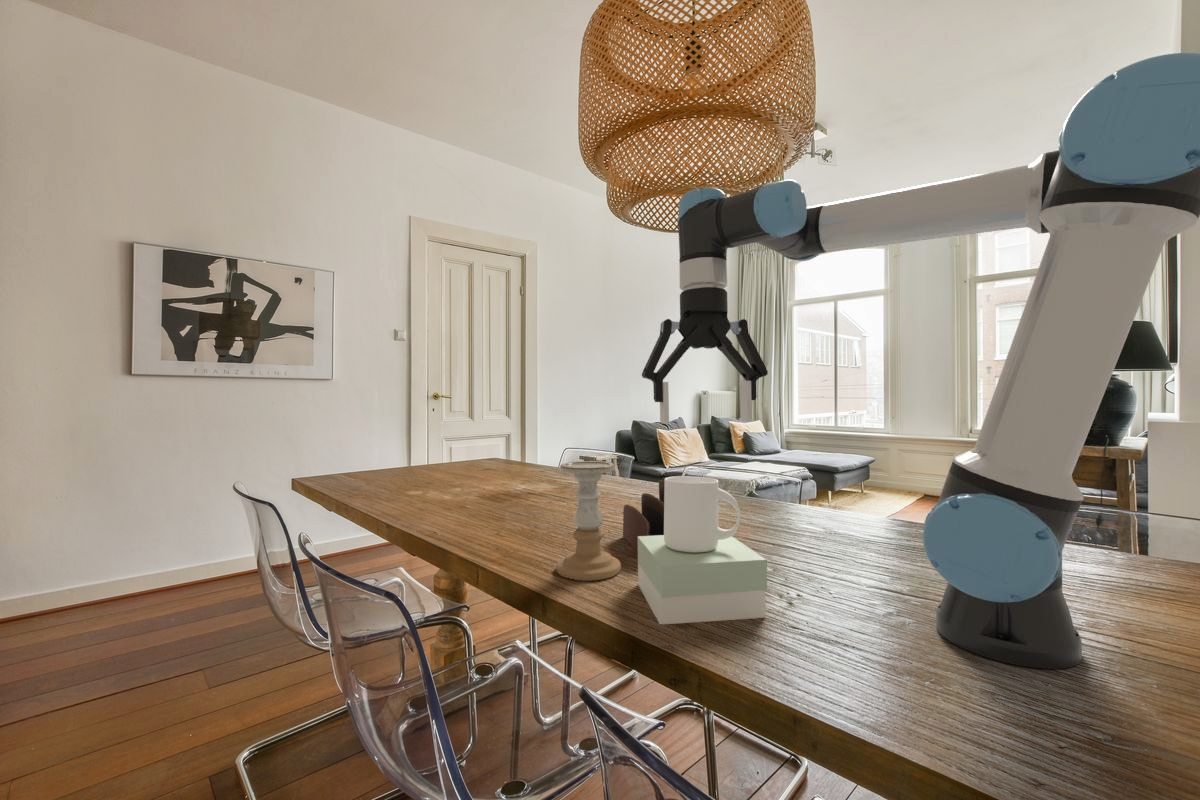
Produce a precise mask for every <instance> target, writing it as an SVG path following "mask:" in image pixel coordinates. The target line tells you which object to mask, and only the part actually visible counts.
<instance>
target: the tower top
mask: <svg viewBox="0 0 1200 800" xmlns="http://www.w3.org/2000/svg"><path fill="white" fill-rule="evenodd" d="M767 560H768V559H766V558H765V557H763V556H762V555H761V554H759V553H757V552H756V551H755V550H753V549H752V548H750V547H749V546H747V545H746V544H745V543H742V542H741V541H739V540H738V539H737V538H735V537H734V536H733V535H732V536H731V537H729V538H727V539H723V540H718V544H717V547H716V548H715V549H714V550H711V551H707V552H683V551H678V550H674V549H671V548H669V547H668V546H667V545H666V544H665V542H664V535H655V536H638V552H637V564H638V563H639V565H640V566H641V568H642V569H643V570H644V572H645V573H646V575H647V576H648V578H649V579H650V581H651V582H652V584H653V585H654V586H655V588H656V589H657V591H658V592H659V594H660V595H661V597H672V596H686V595H701V594H716V593H730V592H745V591H759V590H765V591H768V565H767V563H768V561H767Z"/></svg>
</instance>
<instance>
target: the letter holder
mask: <svg viewBox="0 0 1200 800" xmlns="http://www.w3.org/2000/svg"><path fill="white" fill-rule="evenodd" d="M640 500H641V503H640V505H641V512H640V511H639V510H638V509H637V508H635V507H634V506H632V505H631V504H624V506H623V512H622V513H623V514H622V515H623V518H622V521H623V522H622V523H623V524H622V529H623V530H622V537H623V538H624V540H626V541H627V543H628V544H629V543H630V544H629V545H630V546H631V547H632V548H633V549H634V550H635V551H636V552H637V553H638V536H655V535H664V479H660V480H659V481H658V497H656V496H655V495H653V494H650V493H647V492H646V493H645V492H644V493H642V494H641V499H640Z"/></svg>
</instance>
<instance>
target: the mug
mask: <svg viewBox="0 0 1200 800" xmlns="http://www.w3.org/2000/svg"><path fill="white" fill-rule="evenodd" d="M663 480H664V542H665V544H666V545H667V546H668V547H669V548H671V549H674V550H678V551H683V552H707V551H711V550H714V549H715V548H716V547H717V544H718V540H723V539H727V538H729V537H731V536H732V537H733V536H734V534H735V533H736V532H737V531H738V528H739V526H740V523H741V509H740V506H739V503H738V501H737V500H736V498H735V497H734V496H732V495H731V494H730V493H729V492H727V491H726V490H724V489H722V488H720V485H719V480H718V479H716V478H712V477H707V476H705V477H704V476H693V475H692V476H691V475H677V476H676V475H675V476H674V475H673V476H669V477H665V478H664V479H663ZM719 501H724V502H727V503H729V504H730V505H731V506H733V507H734V509H735V512H736V514H737V518H736V519H737V520H736V523H735V524H734V525H733V526H732V528H729V529H723V528H721V527H720V526H719Z"/></svg>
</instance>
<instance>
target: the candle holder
mask: <svg viewBox="0 0 1200 800" xmlns="http://www.w3.org/2000/svg"><path fill="white" fill-rule="evenodd" d="M559 468H560V471H562V472H563V473H566V474H573V475H572V476H573V477H574V479H575V480H576V481H577V483H578V490H577V491H576V492H575V493H574V497H575V498H576V499H577V505H576V506H577V507H576V510H575V514H574V517H573V524H574V525H575V526H576V528H575V531H574V532H573V533H572V536H573V538H574V539H575V541H576V548H575V551H572V552H570V553H568V554H567V555H566V556H564V557H562V558H561V559H559V560H558V561H557V563H556V567H555V568H556V572H557V574H558V575H559V576H561V577H563V578H566V579H568V578H569V579H568V580H572V579H574V580H573V581H580V580H581V581H582V582H583V581H585V582H588V581H589V582H590V581H591V582H593V580H594V581H601V580H607V579H609V578H613V577H614V576H617V575H618V574H619V573H620V572H621V569H622V564H621V561H620V560H619V559H618V558H617V557H614V556H612V555H611V554H610V553H609V552H607V551H603V550H602V548H601V540H602V539H603V537H604V535H605V534H604V531H602V529H601V528H600V527H601V525H602V524H603V516H602V513H601V510H600V505H599V504H600V503H599V499H600V498H601V497H602V494H601V492H600V491H599V490H598V487H597V485H598V481H600V479H602V474H606V473H610V472H613V471H614V470H615V469H616V465H615V463H613V462H610V461H601V460H600V461H599V460H598V461H597V460H584V461H583V460H582V461H581V460H580V461H570V462H564V463H561V464H560V466H559Z"/></svg>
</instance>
